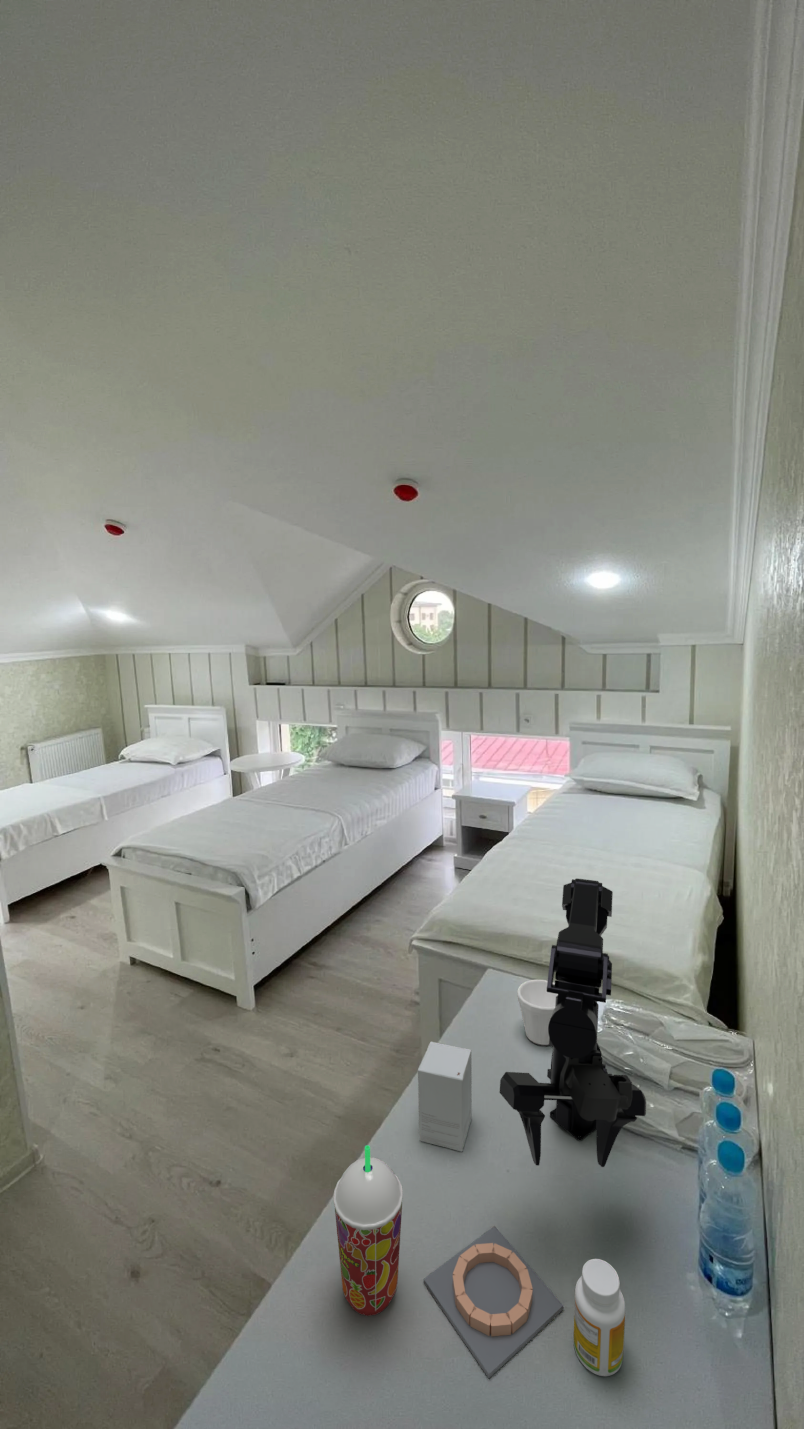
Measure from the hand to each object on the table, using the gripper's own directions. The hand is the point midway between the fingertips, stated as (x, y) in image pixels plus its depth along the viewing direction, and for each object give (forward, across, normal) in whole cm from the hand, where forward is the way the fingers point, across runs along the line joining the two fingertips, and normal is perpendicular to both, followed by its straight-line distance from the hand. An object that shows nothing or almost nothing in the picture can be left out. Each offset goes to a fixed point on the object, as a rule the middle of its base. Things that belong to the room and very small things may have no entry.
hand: (568, 1165), depth 81 cm
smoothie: (+16, -24, +3) cm, 29 cm away
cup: (-4, +14, +40) cm, 43 cm away
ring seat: (+14, -10, -1) cm, 17 cm away
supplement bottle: (+15, 0, -8) cm, 17 cm away
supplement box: (+6, -10, +23) cm, 26 cm away
